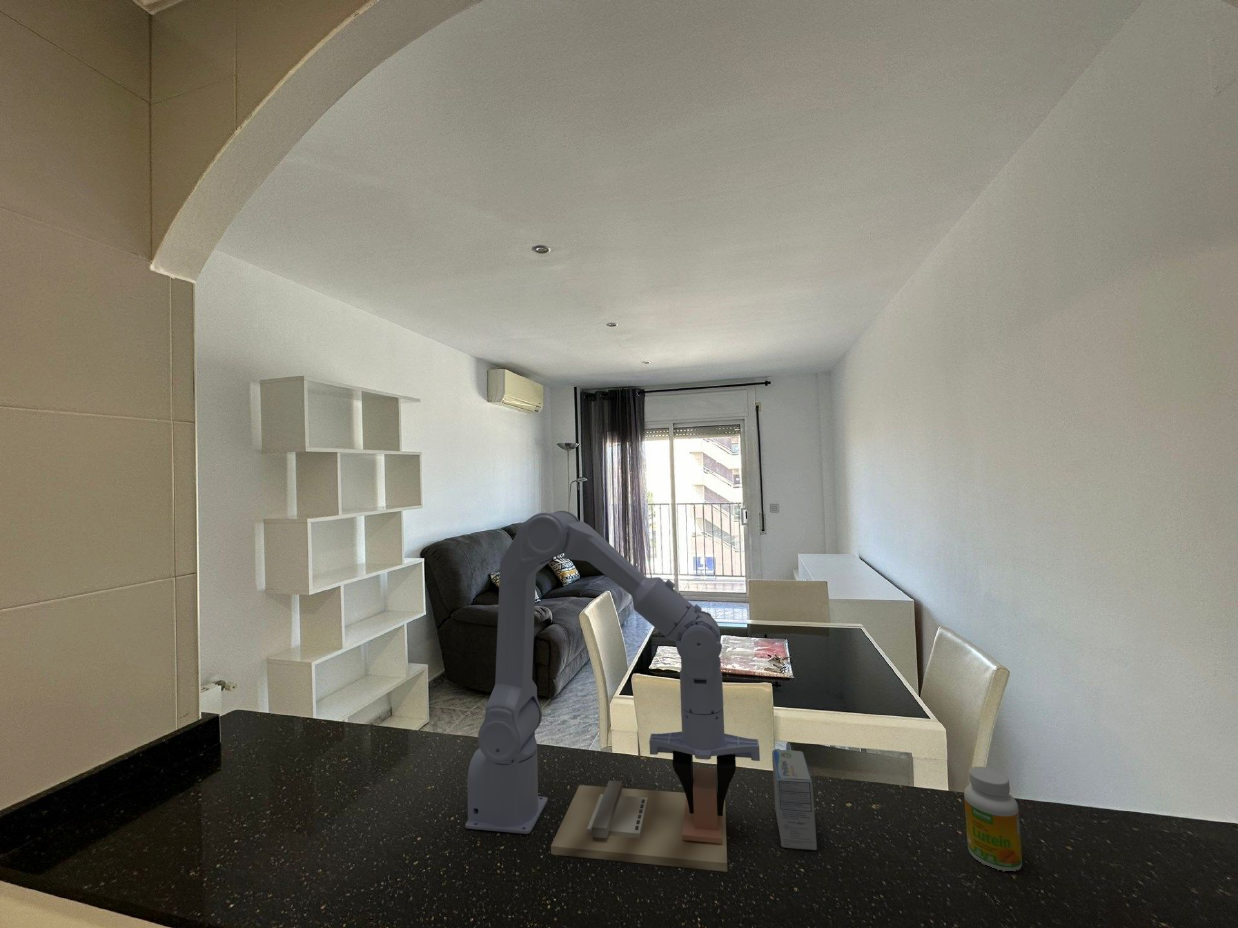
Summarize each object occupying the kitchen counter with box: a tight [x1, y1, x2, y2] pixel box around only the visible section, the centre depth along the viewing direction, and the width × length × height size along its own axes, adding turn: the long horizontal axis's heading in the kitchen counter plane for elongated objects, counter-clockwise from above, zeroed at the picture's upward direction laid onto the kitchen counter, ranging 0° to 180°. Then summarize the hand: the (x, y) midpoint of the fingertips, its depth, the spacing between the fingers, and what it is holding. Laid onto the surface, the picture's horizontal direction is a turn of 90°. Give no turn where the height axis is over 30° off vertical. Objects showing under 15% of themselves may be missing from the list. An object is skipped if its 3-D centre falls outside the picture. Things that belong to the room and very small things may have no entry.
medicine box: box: [771, 749, 818, 851], centre depth 69 cm, size 8×4×9 cm, turn 168°
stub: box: [682, 767, 722, 843], centre depth 69 cm, size 5×8×6 cm, turn 169°
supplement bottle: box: [963, 766, 1023, 872], centre depth 63 cm, size 5×5×10 cm
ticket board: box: [550, 780, 728, 873], centre depth 70 cm, size 22×14×3 cm, turn 79°
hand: (706, 810), depth 69 cm, fingers closed on stub, 3 cm apart
